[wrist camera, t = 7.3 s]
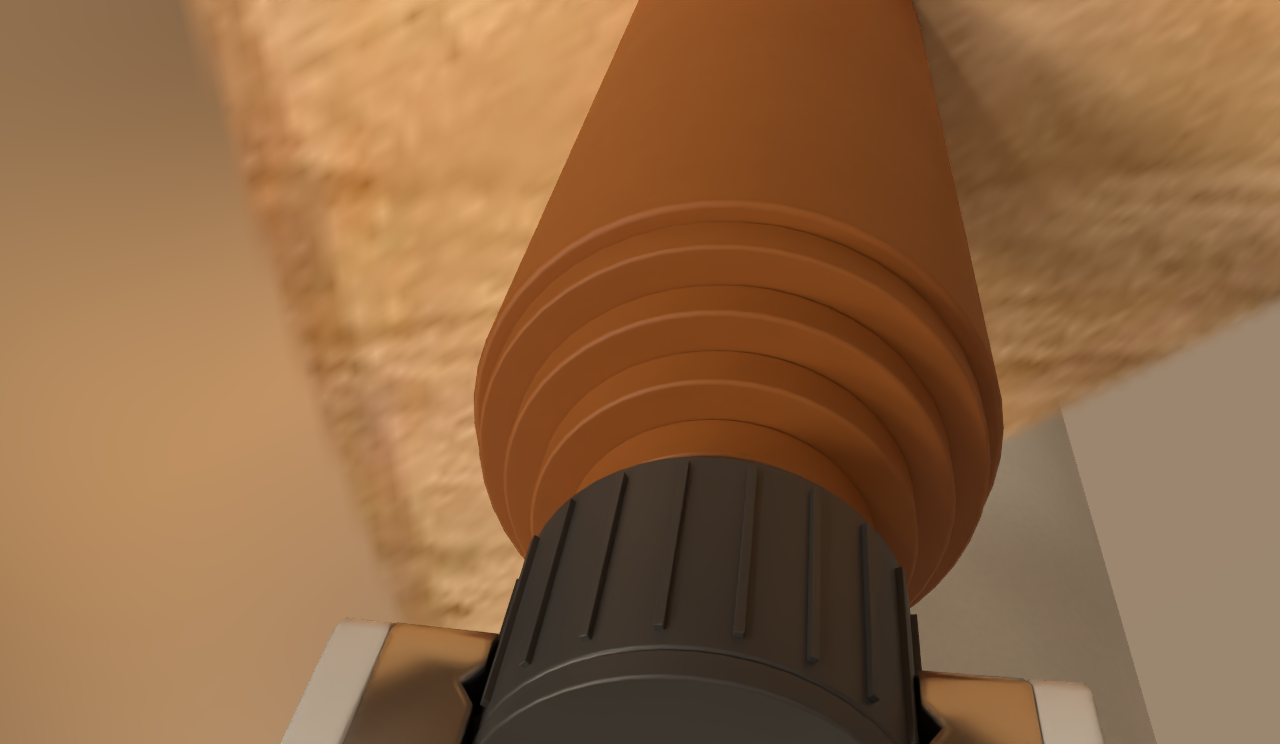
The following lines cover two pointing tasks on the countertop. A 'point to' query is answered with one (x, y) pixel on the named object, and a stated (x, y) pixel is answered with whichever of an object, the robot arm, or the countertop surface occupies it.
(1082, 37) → the countertop surface
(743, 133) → the bottle
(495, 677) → the cap
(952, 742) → the robot arm
